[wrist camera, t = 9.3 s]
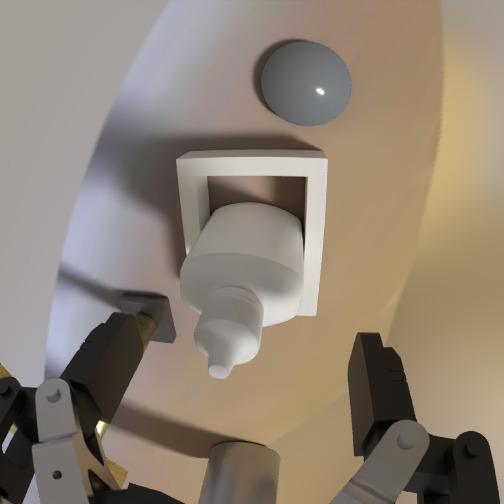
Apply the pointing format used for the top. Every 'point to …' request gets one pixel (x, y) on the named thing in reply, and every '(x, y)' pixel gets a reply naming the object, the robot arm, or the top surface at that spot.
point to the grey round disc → (306, 83)
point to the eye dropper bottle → (242, 280)
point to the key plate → (152, 314)
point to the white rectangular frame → (259, 164)
